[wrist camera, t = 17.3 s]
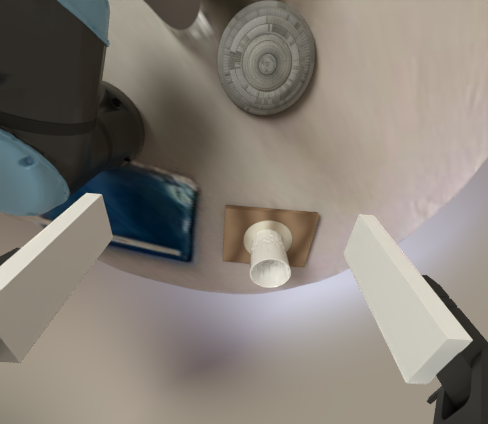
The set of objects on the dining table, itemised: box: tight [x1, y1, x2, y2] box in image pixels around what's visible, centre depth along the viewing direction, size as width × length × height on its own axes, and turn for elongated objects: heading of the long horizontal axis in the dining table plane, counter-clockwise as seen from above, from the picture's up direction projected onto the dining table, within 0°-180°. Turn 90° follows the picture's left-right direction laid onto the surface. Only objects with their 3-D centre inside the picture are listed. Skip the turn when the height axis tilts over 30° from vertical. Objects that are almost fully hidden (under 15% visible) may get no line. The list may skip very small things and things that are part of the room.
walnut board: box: [223, 205, 319, 267], centre depth 56 cm, size 20×15×2 cm
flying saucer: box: [217, 0, 315, 115], centre depth 37 cm, size 15×15×6 cm
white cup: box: [250, 229, 291, 288], centre depth 51 cm, size 8×8×10 cm
